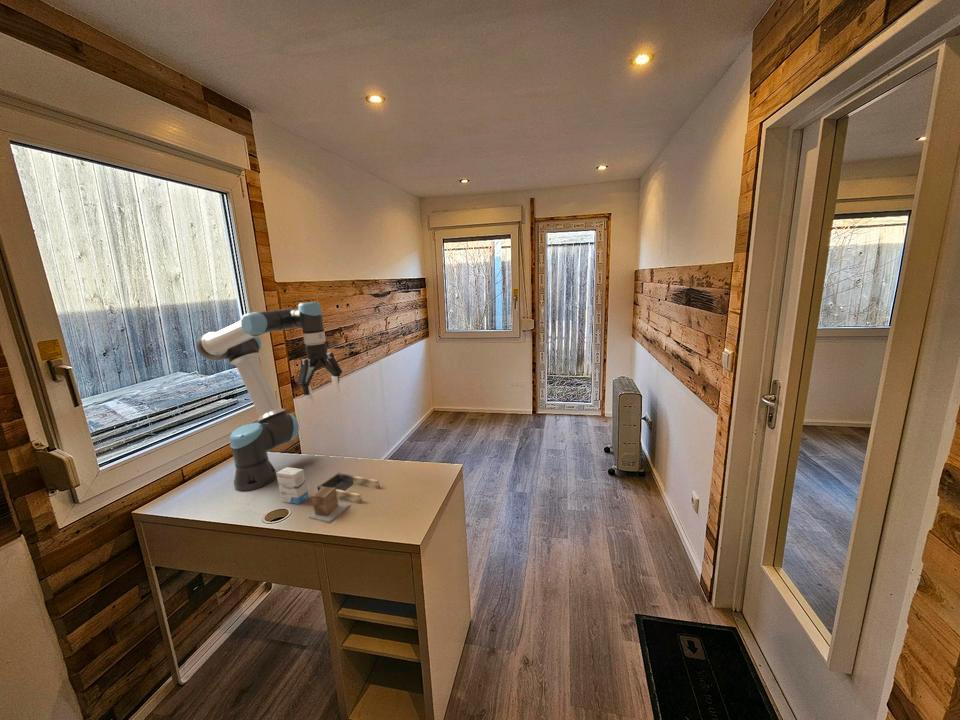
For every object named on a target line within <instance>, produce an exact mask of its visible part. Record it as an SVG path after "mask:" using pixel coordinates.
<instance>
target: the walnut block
mask: <svg viewBox="0 0 960 720" xmlns="http://www.w3.org/2000/svg"><path fill="white" fill-rule="evenodd" d="M311 498H312V499H311V500H312V505H313V511H314V512H315V515H323V516H328V515H329V514H330V513H331V512H332V511H333V510H334V509H335V508H336V507H337V506H338V502H339V501H338V498H337V494H336V488H333V487H322V488H321V489H320V490H319V491H318V490H317V491H316V492H315V493H314V494H313V495H311Z"/></svg>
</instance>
